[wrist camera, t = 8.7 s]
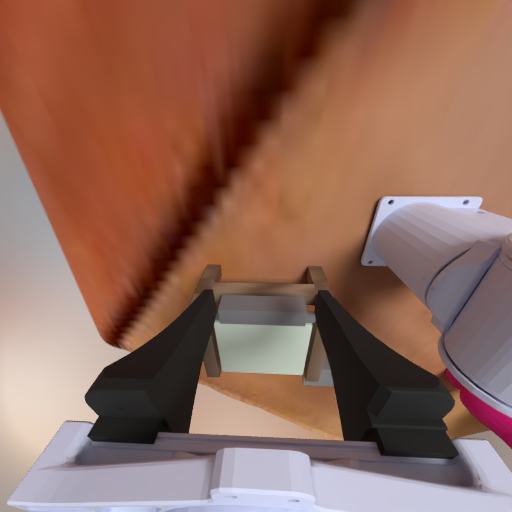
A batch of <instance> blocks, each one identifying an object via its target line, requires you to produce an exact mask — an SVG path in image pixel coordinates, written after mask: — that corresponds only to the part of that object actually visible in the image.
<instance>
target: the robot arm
mask: <svg viewBox="0 0 512 512" xmlns="http://www.w3.org/2000/svg"><path fill="white" fill-rule="evenodd" d="M390 200H392V202H391V203H390V204H388V202H389V201H390ZM464 201H465V202H464ZM482 201H483V200H482V198H481V197H477V196H385V197H382V198H381V199H380V200H379V203H378V206H377V209H376V213H375V216H374V219H373V222H372V226H371V229H370V232H369V235H368V239H367V242H366V245H365V249H364V252H363V255H362V258H361V264H362V265H364V266H388V267H389V268H390V269H391V270H392V271H393V272H394V273H395V274H396V275H397V277H398V278H399V279H400V280H401V281H402V282H403V283H404V284H405V285H406V286H407V287H408V288H409V289H410V290H411V291H412V292H413V293H414V294H415V295H416V296H417V297H418V298H419V299H420V300H421V301H422V303H423V304H424V305H425V306H426V307H427V308H428V309H429V310H430V311H431V313H432V319H431V322H432V324H433V325H434V326H435V327H436V328H437V329H438V330H439V331H440V332H441V333H442V335H441V337H440V339H439V341H438V351H439V355H440V357H441V359H442V361H443V363H444V364H445V366H446V367H447V369H448V370H449V371H450V372H451V374H452V375H453V376H454V377H455V378H456V379H457V380H458V381H459V382H460V383H461V384H462V385H463V386H464V387H465V388H467V389H468V390H469V391H470V392H471V393H473V394H474V395H475V396H477V397H478V398H479V399H481V400H482V401H483V402H485V403H486V404H488V405H490V406H491V407H493V408H494V409H496V410H498V411H499V412H501V413H503V414H505V415H507V416H508V417H511V418H512V219H510V218H506V217H503V216H500V215H497V214H494V213H491V212H488V211H485V210H481V209H478V208H479V207H480V205H481V203H482ZM463 202H464V203H463ZM369 261H371V262H369ZM368 262H369V263H368ZM216 313H217V309H216V303H215V298H214V292H213V289H204V290H203V291H202V292H201V293H200V295H199V296H198V297H197V298H196V299H195V300H194V301H193V302H192V303H191V305H190V306H189V307H188V308H187V309H186V310H185V311H184V312H183V313H182V314H181V315H180V316H179V317H178V318H177V319H176V320H175V321H173V322H172V323H171V324H170V325H169V326H168V327H167V328H165V329H164V330H163V331H162V332H161V333H159V334H158V335H156V336H155V337H154V338H152V339H151V340H150V341H148V342H147V343H145V344H144V345H142V346H141V347H139V348H138V349H136V350H135V351H133V352H131V353H130V354H128V355H127V356H125V357H123V358H121V359H119V360H118V361H116V362H114V363H112V364H110V365H109V366H107V367H105V368H104V369H103V370H102V372H101V373H100V375H99V376H98V377H97V379H96V380H95V382H94V383H93V384H92V386H91V387H90V389H89V390H88V392H87V393H86V395H85V401H86V403H87V404H88V405H89V406H90V407H91V408H92V409H93V410H94V411H95V413H96V414H97V415H99V417H98V419H97V420H96V422H95V424H93V423H91V422H86V421H65V422H64V423H63V424H62V426H61V427H60V429H59V430H58V431H57V433H56V434H55V436H54V437H53V439H52V440H51V441H50V442H49V444H48V445H47V447H46V448H45V449H44V451H43V452H42V454H41V455H40V456H39V458H38V459H37V461H36V462H35V463H34V465H33V466H32V467H31V469H30V470H29V472H28V473H27V474H26V476H25V477H24V479H23V480H22V481H21V483H20V484H19V486H18V487H17V488H16V490H15V491H14V492H13V494H12V495H11V497H10V498H9V499H8V501H7V504H8V505H10V506H14V507H17V508H20V509H23V510H26V511H29V512H512V473H511V472H510V471H509V469H508V468H507V466H506V465H505V464H504V462H503V461H502V460H501V458H500V457H499V456H498V454H497V453H496V452H495V450H494V449H493V447H492V446H491V445H490V443H489V442H488V441H487V440H485V439H471V438H455V439H451V440H450V438H449V437H448V435H447V433H446V432H445V431H447V430H448V429H447V426H446V425H445V423H444V421H443V420H442V419H443V418H444V417H445V416H446V415H447V414H448V413H449V412H450V411H451V410H452V408H453V407H454V404H455V400H454V399H453V397H452V396H451V394H450V393H449V391H448V390H447V389H446V387H445V386H444V385H443V383H442V382H441V381H440V379H439V378H438V377H437V376H435V375H433V374H432V373H430V372H428V371H426V370H424V369H423V368H421V367H419V366H417V365H416V364H414V363H412V362H411V361H409V360H408V359H406V358H404V357H403V356H401V355H400V354H398V353H397V352H395V351H394V350H392V349H391V348H389V347H388V346H387V345H385V344H384V343H382V342H381V341H380V340H378V339H377V338H376V337H374V336H373V335H372V334H371V333H370V332H368V331H367V330H366V329H365V328H364V327H362V326H361V325H360V324H359V323H358V322H357V321H356V320H355V319H354V318H353V317H352V316H351V315H350V314H349V313H348V312H347V311H346V310H345V309H344V308H343V307H342V306H341V305H340V304H339V302H338V301H337V300H336V299H335V298H334V297H333V296H332V295H331V293H330V292H329V291H328V290H318V294H317V300H316V306H315V318H316V323H317V327H318V330H319V333H320V337H321V340H322V343H323V346H324V349H325V352H326V355H327V358H328V362H329V365H330V370H331V374H332V379H333V384H334V388H335V393H336V398H337V404H338V409H339V414H340V420H341V426H342V432H343V438H344V441H338V440H316V439H295V438H294V439H293V438H273V437H252V436H229V435H207V434H189V428H190V422H191V416H192V410H193V405H194V399H195V394H196V389H197V384H198V379H199V375H200V370H201V366H202V361H203V358H204V354H205V351H206V348H207V345H208V342H209V339H210V336H211V333H212V330H213V327H214V323H215V318H216Z"/></svg>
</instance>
